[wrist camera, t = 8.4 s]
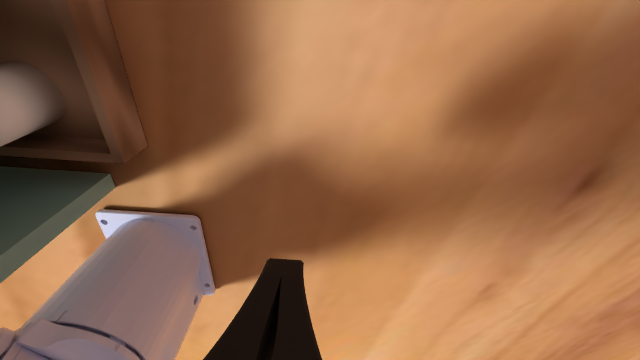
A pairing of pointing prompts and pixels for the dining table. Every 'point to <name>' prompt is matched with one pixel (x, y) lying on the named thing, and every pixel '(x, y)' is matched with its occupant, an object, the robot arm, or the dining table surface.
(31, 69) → the cup
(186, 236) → the robot arm
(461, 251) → the dining table surface
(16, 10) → the tray
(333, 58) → the dining table surface
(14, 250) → the box
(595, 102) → the dining table surface
